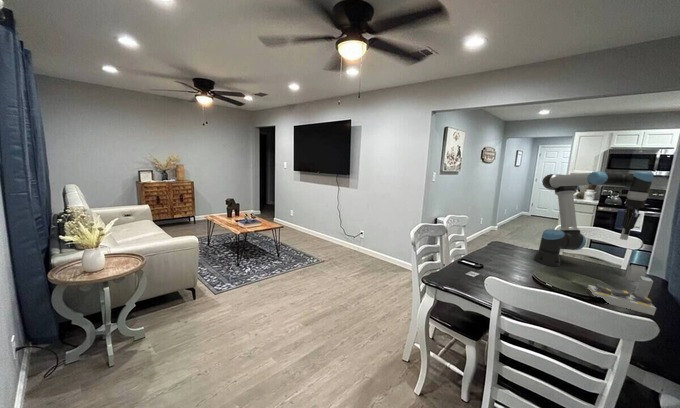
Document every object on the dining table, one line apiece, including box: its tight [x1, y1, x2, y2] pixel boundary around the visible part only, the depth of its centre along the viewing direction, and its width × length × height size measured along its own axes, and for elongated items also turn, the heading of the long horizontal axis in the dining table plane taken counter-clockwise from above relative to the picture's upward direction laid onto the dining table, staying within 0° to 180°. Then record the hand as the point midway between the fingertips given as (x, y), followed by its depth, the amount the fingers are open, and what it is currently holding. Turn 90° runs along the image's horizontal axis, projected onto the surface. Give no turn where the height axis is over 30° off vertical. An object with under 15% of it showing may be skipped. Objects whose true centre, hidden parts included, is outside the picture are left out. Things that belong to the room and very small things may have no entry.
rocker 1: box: [594, 283, 612, 295], centre depth 146 cm, size 6×4×2 cm, turn 62°
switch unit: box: [587, 284, 657, 316], centre depth 143 cm, size 23×11×4 cm, turn 61°
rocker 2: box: [610, 288, 631, 297], centre depth 142 cm, size 6×4×2 cm, turn 61°
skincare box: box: [634, 276, 654, 298], centre depth 148 cm, size 6×4×12 cm
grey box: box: [624, 264, 646, 283], centre depth 172 cm, size 4×7×10 cm, turn 67°
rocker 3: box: [631, 292, 653, 304], centre depth 139 cm, size 6×4×2 cm, turn 62°
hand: (623, 239), depth 156 cm, fingers closed
